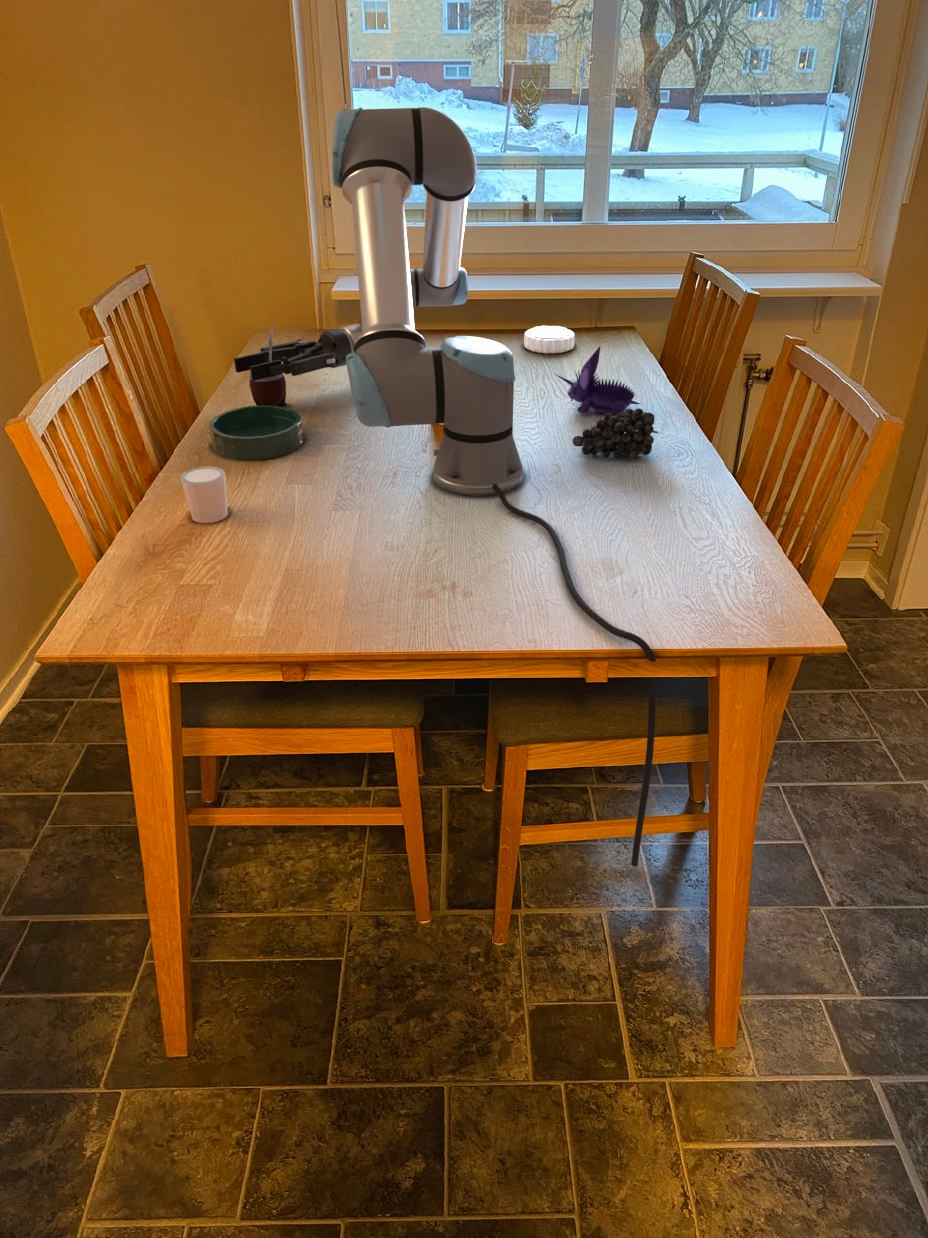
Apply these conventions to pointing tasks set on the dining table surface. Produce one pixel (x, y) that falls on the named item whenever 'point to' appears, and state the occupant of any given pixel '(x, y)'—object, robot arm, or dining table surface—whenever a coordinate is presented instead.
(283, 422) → the green round tray
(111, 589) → the dining table surface
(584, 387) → the creature
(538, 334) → the white lid
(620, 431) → the fruit
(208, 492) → the white cylinder
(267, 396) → the mate gourd
